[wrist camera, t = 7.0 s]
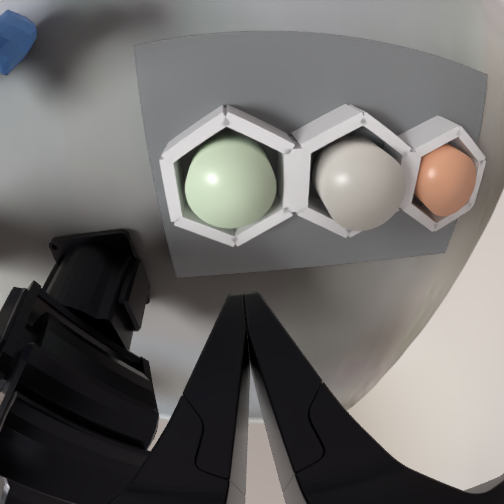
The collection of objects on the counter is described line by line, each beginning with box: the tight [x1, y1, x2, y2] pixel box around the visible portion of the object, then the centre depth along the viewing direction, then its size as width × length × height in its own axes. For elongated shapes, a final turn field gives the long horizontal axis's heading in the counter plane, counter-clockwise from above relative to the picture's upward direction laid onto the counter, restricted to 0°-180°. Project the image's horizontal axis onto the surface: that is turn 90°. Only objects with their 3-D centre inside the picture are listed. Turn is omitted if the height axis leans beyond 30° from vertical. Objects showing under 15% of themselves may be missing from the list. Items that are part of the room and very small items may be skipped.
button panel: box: [134, 31, 487, 278], centre depth 15 cm, size 20×14×4 cm
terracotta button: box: [414, 143, 476, 216], centre depth 14 cm, size 4×4×2 cm
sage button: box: [185, 132, 276, 228], centre depth 14 cm, size 4×4×2 cm
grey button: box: [312, 135, 406, 231], centre depth 13 cm, size 4×4×2 cm
